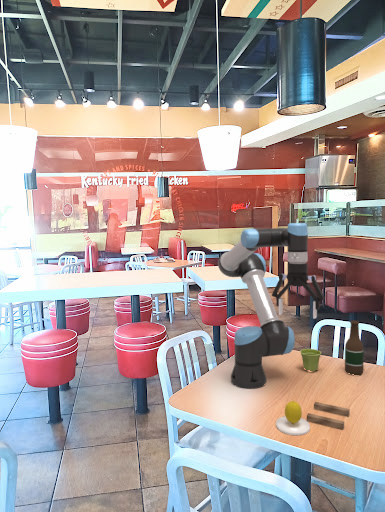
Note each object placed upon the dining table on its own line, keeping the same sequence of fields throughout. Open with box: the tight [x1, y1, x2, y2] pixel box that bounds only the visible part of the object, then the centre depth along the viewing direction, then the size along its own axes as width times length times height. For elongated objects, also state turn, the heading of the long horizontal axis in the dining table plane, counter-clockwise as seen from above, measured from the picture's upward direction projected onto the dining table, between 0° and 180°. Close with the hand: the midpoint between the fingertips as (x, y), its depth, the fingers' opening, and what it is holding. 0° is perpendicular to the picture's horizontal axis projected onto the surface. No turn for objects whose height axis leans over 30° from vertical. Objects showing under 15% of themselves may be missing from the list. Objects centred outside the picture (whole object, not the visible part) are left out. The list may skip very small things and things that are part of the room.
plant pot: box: [299, 348, 322, 372], centre depth 181 cm, size 9×9×9 cm
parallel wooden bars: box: [306, 401, 350, 430], centre depth 137 cm, size 12×12×2 cm
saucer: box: [275, 415, 311, 436], centre depth 132 cm, size 11×11×1 cm
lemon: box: [284, 400, 303, 424], centre depth 131 cm, size 6×6×8 cm
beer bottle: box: [344, 319, 365, 376], centre depth 177 cm, size 8×8×24 cm
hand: (297, 316), depth 154 cm, fingers open, 13 cm apart
